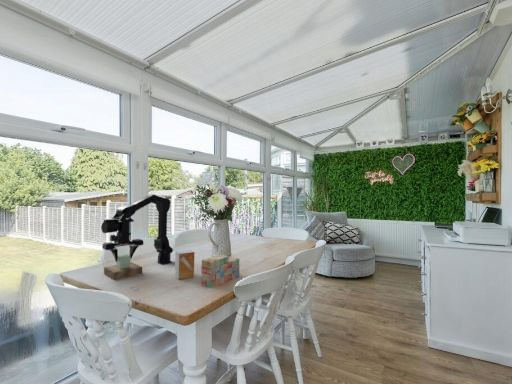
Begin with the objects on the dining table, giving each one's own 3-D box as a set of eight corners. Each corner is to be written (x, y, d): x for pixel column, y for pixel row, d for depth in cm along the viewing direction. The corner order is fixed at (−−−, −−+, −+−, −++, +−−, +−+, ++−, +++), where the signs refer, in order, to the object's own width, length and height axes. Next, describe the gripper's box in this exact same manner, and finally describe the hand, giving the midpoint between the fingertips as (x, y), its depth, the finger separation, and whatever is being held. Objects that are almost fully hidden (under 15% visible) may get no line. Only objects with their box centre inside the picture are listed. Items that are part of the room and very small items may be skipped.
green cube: (126, 265, 140) (126, 254, 140) (130, 267, 137) (130, 255, 137) (116, 267, 136) (116, 255, 136) (120, 269, 133) (120, 257, 133)
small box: (178, 279, 128) (179, 253, 128) (174, 276, 133) (175, 251, 134) (194, 277, 133) (194, 251, 133) (190, 273, 138) (190, 249, 138)
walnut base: (131, 269, 146) (131, 262, 146) (142, 274, 137) (142, 267, 137) (103, 274, 136) (103, 267, 136) (113, 281, 127) (113, 272, 127)
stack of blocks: (230, 274, 139) (230, 251, 139) (239, 276, 135) (239, 252, 135) (201, 285, 121) (201, 259, 121) (210, 288, 118) (211, 261, 118)
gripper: (135, 227, 149) (135, 254, 149) (99, 230, 135) (98, 260, 135) (144, 229, 141) (143, 258, 141) (106, 233, 128) (105, 265, 128)
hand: (123, 260), depth 137 cm, fingers open, 7 cm apart
